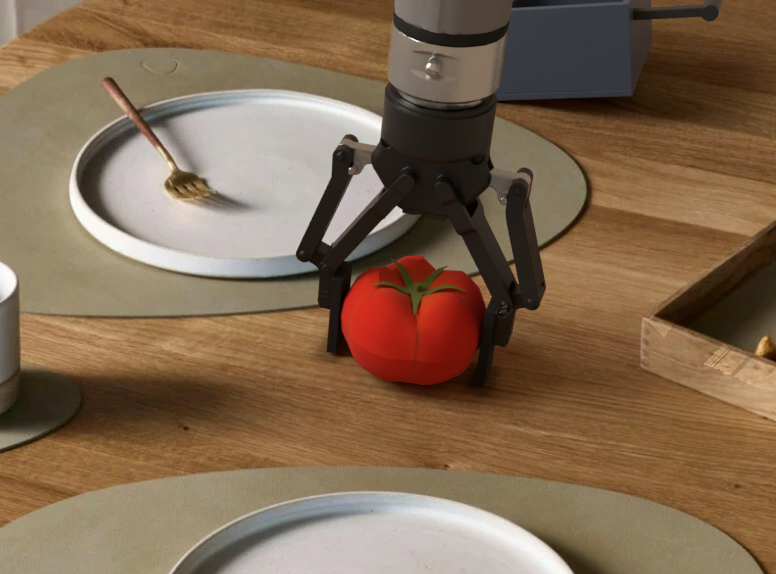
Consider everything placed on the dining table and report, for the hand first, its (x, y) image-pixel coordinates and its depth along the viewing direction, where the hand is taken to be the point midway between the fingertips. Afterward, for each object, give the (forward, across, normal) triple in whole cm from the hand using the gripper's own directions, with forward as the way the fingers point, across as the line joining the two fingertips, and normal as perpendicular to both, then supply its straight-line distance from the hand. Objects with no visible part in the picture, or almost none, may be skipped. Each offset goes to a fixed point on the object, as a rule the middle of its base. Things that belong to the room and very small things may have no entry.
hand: (408, 360), depth 115 cm
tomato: (0, 0, 0) cm, 0 cm away
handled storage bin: (-2, +7, +54) cm, 54 cm away
